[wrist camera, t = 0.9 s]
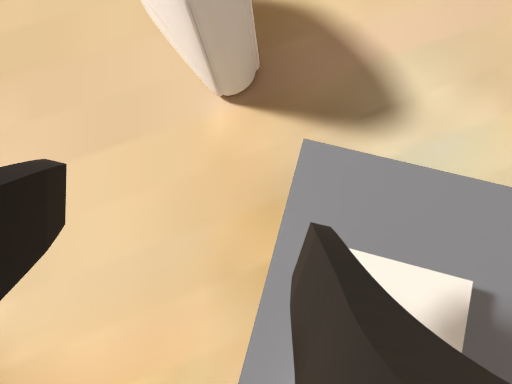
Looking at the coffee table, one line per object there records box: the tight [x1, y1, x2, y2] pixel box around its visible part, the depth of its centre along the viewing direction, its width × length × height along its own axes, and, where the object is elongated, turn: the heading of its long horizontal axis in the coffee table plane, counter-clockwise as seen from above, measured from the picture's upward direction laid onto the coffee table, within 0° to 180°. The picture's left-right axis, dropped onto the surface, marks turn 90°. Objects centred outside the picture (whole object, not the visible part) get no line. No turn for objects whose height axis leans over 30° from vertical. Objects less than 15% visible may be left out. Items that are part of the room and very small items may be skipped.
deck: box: [238, 139, 512, 384], centre depth 21 cm, size 20×14×4 cm
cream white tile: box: [349, 248, 473, 353], centre depth 18 cm, size 9×6×2 cm, turn 164°
